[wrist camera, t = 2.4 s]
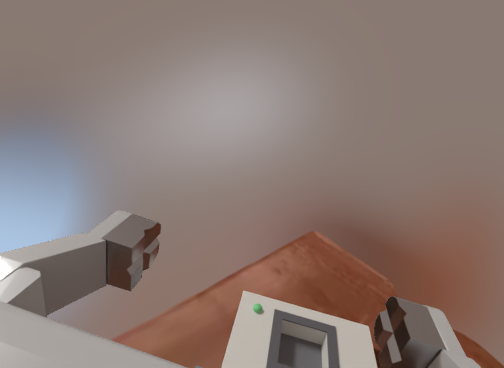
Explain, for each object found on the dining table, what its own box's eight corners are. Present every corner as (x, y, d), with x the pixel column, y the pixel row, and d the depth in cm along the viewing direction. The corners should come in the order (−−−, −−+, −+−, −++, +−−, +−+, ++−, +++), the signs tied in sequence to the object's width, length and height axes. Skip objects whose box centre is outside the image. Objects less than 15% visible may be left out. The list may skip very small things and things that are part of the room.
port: (361, 340, 40) (369, 324, 39) (379, 442, 30) (391, 426, 28) (240, 304, 42) (244, 288, 41) (216, 390, 31) (219, 372, 30)
